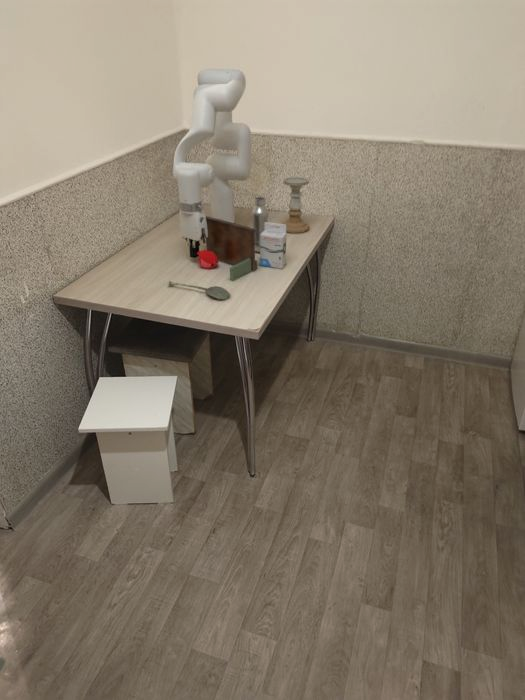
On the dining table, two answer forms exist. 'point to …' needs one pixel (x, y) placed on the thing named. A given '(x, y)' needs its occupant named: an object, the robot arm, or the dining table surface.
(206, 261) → the red rounded piece
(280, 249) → the ink box
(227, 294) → the soupspoon
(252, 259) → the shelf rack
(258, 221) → the silver metal bottle
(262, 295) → the dining table surface
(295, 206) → the candle holder
